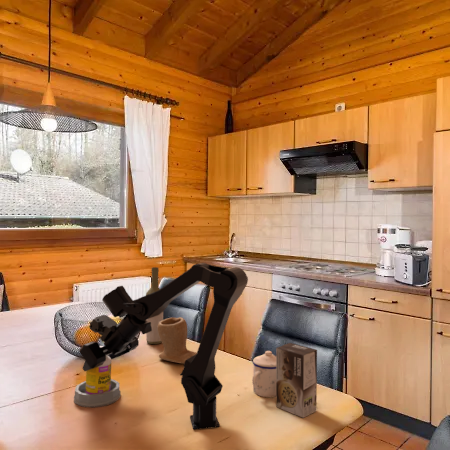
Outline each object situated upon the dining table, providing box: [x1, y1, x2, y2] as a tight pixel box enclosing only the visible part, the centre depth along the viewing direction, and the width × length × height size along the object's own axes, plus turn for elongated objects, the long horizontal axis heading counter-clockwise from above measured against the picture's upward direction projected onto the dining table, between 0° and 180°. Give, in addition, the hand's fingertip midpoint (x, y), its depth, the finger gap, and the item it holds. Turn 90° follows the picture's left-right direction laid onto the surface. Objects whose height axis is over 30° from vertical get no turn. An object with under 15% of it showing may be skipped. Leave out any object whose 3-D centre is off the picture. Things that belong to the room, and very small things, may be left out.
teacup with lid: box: [251, 350, 276, 398], centre depth 121 cm, size 12×9×12 cm
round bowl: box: [73, 378, 122, 408], centre depth 117 cm, size 12×12×3 cm
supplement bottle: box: [85, 345, 112, 394], centre depth 117 cm, size 7×7×13 cm
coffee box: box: [275, 342, 318, 418], centre depth 111 cm, size 9×6×16 cm
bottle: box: [145, 266, 164, 345], centre depth 167 cm, size 7×7×30 cm
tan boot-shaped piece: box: [158, 316, 197, 365], centre depth 147 cm, size 15×12×15 cm
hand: (93, 365), depth 117 cm, fingers open, 8 cm apart
